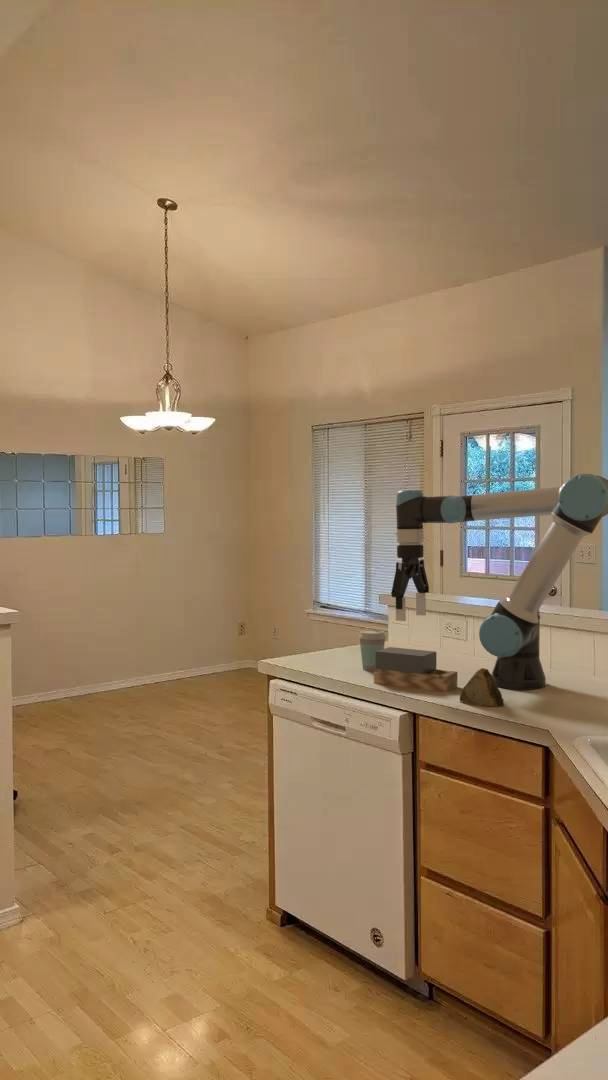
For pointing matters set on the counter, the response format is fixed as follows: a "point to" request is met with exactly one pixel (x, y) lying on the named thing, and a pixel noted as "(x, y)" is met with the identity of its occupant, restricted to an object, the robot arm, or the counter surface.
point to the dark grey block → (406, 660)
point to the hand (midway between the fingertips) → (411, 618)
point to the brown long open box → (418, 679)
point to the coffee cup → (371, 647)
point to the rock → (482, 690)
